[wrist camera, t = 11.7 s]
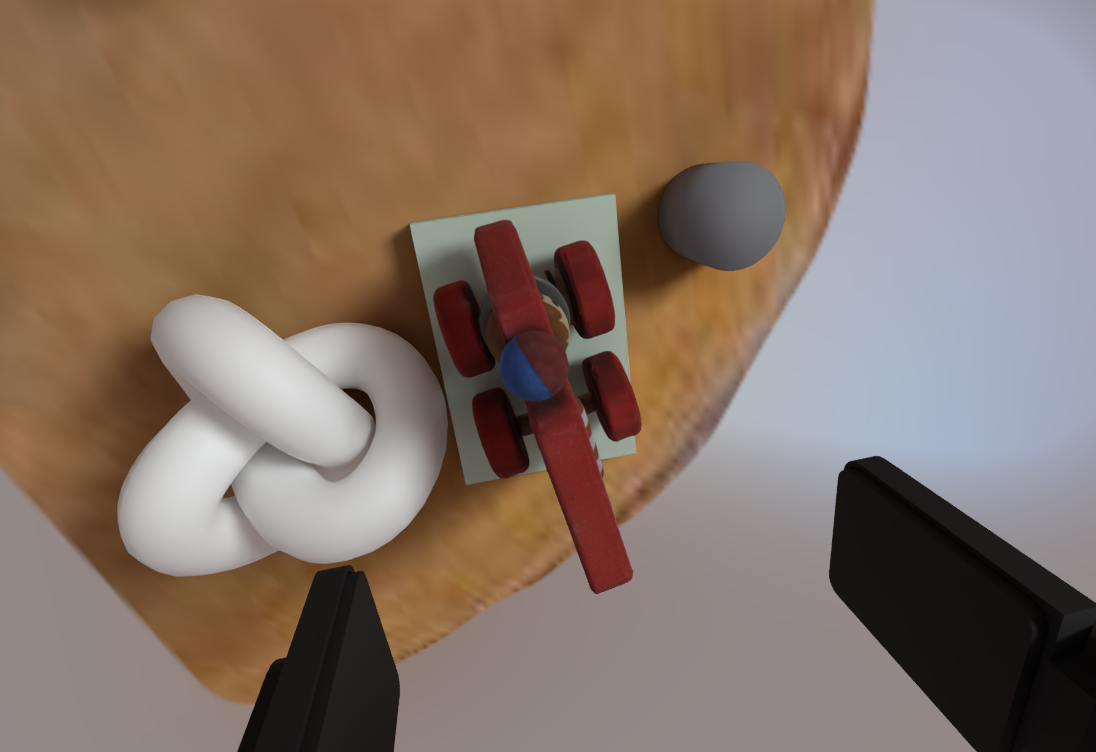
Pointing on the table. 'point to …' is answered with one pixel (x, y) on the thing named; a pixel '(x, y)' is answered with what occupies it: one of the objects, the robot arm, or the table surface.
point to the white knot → (280, 443)
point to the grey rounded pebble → (722, 214)
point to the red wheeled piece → (546, 380)
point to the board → (541, 232)
